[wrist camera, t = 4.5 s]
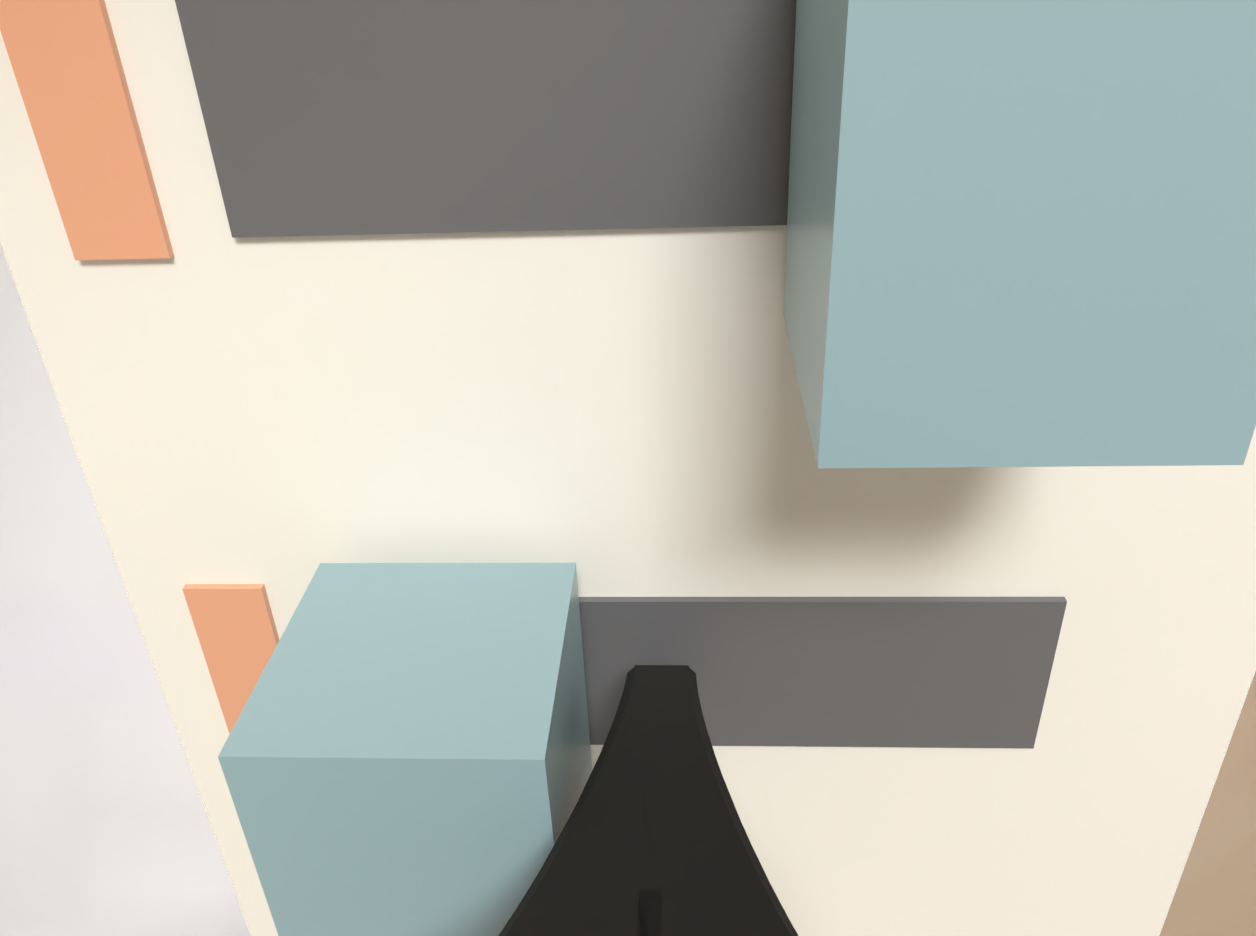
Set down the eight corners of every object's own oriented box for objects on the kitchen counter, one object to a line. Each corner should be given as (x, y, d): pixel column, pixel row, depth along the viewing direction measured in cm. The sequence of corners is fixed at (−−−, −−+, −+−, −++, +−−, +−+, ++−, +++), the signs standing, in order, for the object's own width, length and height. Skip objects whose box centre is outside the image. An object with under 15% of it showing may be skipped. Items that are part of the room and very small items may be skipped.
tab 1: (595, 804, 14) (574, 1022, 11) (376, 801, 14) (305, 1014, 11) (575, 561, 12) (545, 760, 9) (320, 563, 12) (217, 757, 9)
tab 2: (1095, 308, 10) (1243, 465, 7) (783, 313, 10) (818, 468, 7) (1197, -183, 8) (1455, -211, 5) (803, -164, 8) (860, -181, 5)
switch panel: (1094, 880, 17) (1142, 996, 16) (302, 867, 18) (260, 976, 17) (1633, -921, 7) (1941, -1179, 6) (-192, -763, 8) (-439, -941, 6)
